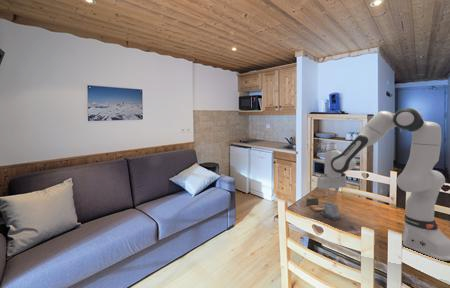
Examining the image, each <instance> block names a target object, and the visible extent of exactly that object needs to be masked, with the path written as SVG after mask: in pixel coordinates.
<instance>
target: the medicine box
mask: <svg viewBox="0 0 450 288" xmlns="http://www.w3.org/2000/svg"><path fill="white" fill-rule="evenodd" d="M324 208H325V214H327V215H328V216H330V217H339V205H338V204H336V203H334V202H331V201H327V202H324Z"/></svg>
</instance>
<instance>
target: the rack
mask: <svg viewBox="0 0 450 288" xmlns="http://www.w3.org/2000/svg"><path fill="white" fill-rule="evenodd" d="M305 201H306V205H307V206H306V205H305V206H306V207H307V208H309V207H310V208H311V209H310V208H309V209H310V210H312V211H313V210H314V211H313V212H314V213H316V212H318V213H320V211H325V207H323V206H321V205H319V198H318V197H314V198H313V197H312V198H306V200H305ZM312 205H319V206H312Z"/></svg>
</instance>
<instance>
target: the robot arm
mask: <svg viewBox="0 0 450 288" xmlns="http://www.w3.org/2000/svg"><path fill="white" fill-rule="evenodd" d="M393 128H399V129H400V130H404V131H408V132H411V135H412V136H411V144H410V151H409V157H408V160H407V163H406V165H405V167H404V168H403V171H402V172H401V173H400V174H399V175H398V176H397V178H396V184H397V186H398V188H399V189H400V190H402V191H404V192H407V193H410V195H409V196H408V198H407V199H406V202H405V214H404V220H403V221H404V223H405V224H404V229H403V233H402V236H403V242H402V245H403V246H404V247H406V248H408V249H411V250H414V251H416V252H418V253H421V254H423V255H426V256H428V257H431V258H433V259H435V258H436V260H438V259H439V261H444V262H445V261H448V262H449V261H450V238H449V237H447V236H446V235H445V234H444V233H443V232H442V231H441V230H440V229H439V228H438V227H440V226H441V223H437V221H436V220H435V208H436V207H435V206H436V203H437V200H438V196H439V194H440V191H441V189H442V187H443V186H444V185H445V184H446V178H445V175H443V173H442V172H440V171H439V170H436V169H435V170H434V167H435V166H436V164H437V163H438V162H439V159H440V154H441V147H442V138H443V137H442V128H441V125H440V124H439V123H437V122H434V121H426V120H424V118H423V115H422V113H421V112H420V111H419V110H418V109H416V108H412V107H404V108H401V109H399V110H397V111H396V112H395V113H392V112H391V111H388V110H381V111H378V112H377V113H376V114H374V115H373V117H371V118H370V119H369V120H368V122H367V123H366V124H365V125H364V126H363V127H362V128H361V130H360V131H359V133H358V134H357V135H356V136H355V138H354V140H353V141H352V142H350V143H349V145H348V146H347V147H346V148H345V149H344V150H343V151H342V152H341V150H340V151H339V149H331V150H330V149H329V150H326V151H325V152H324V153H325V154H324V162H323V163H324V170H323V171H324V174H319V175H318V176H317V182H316V187H317V188H318V189H319V190H324V191H325V194H326V196H330V195H331V192H330V191H329V189H335V190H334V191H333V195H338V192H339V190H340V188H341V189H342V188H346V187H347V185H348V183H347V173H346V172H348V171H351V170H353V169H354V168H355V167H356V165H357V160H356V158H355V157H356V156H357V155H358V154H359V153H360V152H361V151H362V150H364V149H366V148H367V147H369V146H372V145H375V144H376V143H378V142H379V141H380V140H382V139H383V138H384V137H385V136H386V135H387V134H388V132H389V131H390V130H392V129H393Z"/></svg>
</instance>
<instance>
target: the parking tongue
mask: <svg viewBox="0 0 450 288" xmlns="http://www.w3.org/2000/svg"><path fill="white" fill-rule="evenodd" d="M319 215H322V216H324V217H325V218H327V219H328V220H330V221H339V220H342V216H338V217H330V216H328V215H327V214H325V211H320V212H319Z"/></svg>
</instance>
